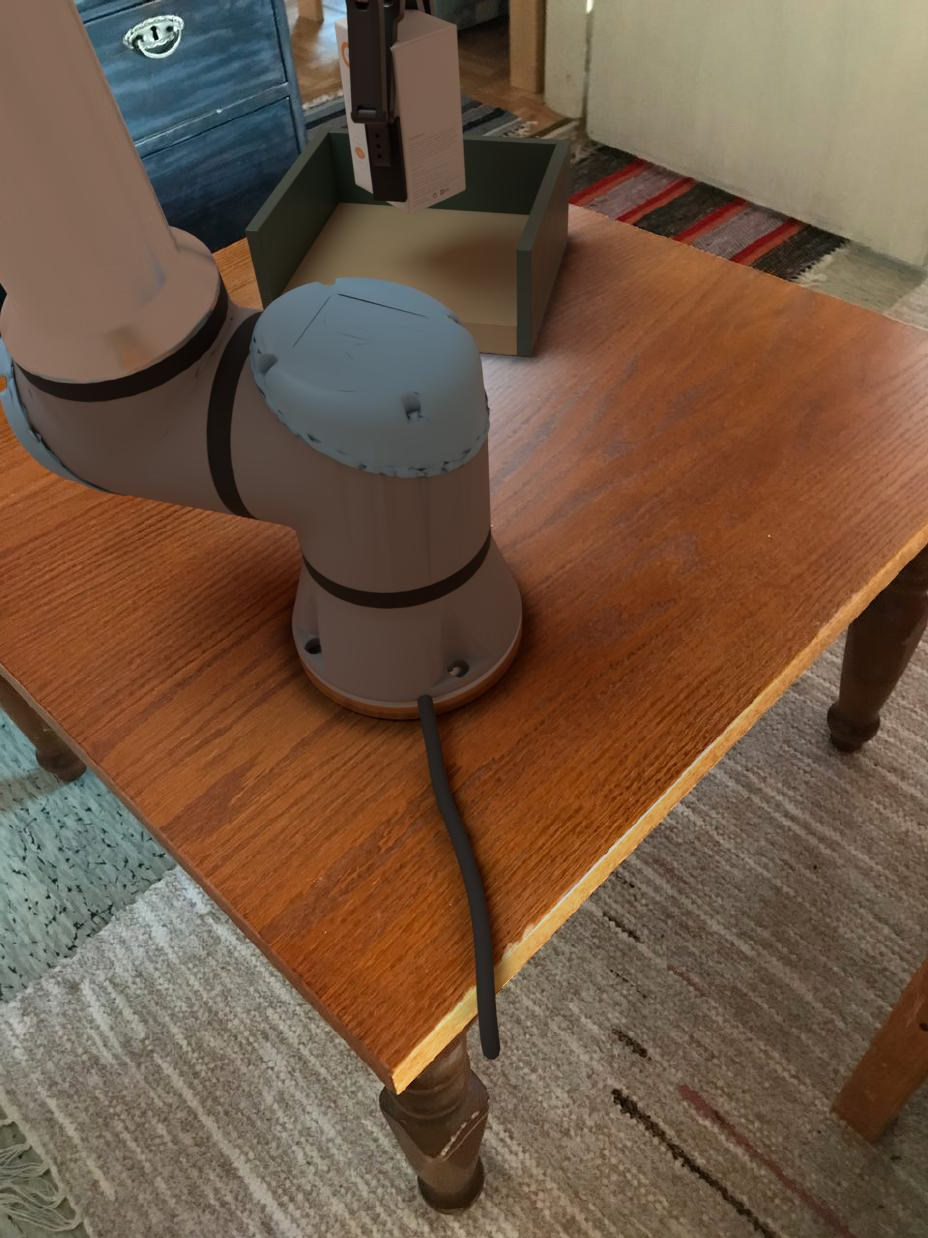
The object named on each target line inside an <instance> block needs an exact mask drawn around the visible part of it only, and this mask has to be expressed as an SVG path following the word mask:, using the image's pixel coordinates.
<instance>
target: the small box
mask: <svg viewBox="0 0 928 1238" xmlns="http://www.w3.org/2000/svg"><path fill="white" fill-rule="evenodd" d="M333 23H334V24H333V26H334V31H335V32H334V33H335V41H336V46H337V54H338V62H339V69H340V70H339V71H340V78H341V85H342V92H343V100H344V101H343V102H344V106H345V114H346V121H347V129H348V130H349V138H350V145H351V153H352V160H353V168H354V176H355V183H356V185H358V186H360V187H362V188H364V189H365V190H367V191H369V192H371V193H372V194H373V190H372V182H371V174H370V166H369V158H368V150H367V142H366V134H365V126H364V124H358V123H353V121H352V119H351V113H350V112H352V109H351V89H350V69H349V49H348V29H347V16H346V17H342V18H339V19H336V20H334V22H333ZM457 26H458V25H457V24H454V23H451V22H449V21H447V20H445V19H444V20H443V19H441V18H438V17H437V16H436V17H434V16H431V15H429V14H426V13H423V12H421V11H418V10H414V9H405V15H404V18H403V20H402V21H401V22H399V24H398V34H397V40H396V41H395V43H394V45H393V46H392V47H390V49H391V51H392V57H393V67H394V77H395V88H396V91H395V116H399V117H400V125H401V135H402V145H403V156H404V166H405V176H406V187H407V197H408V198H407V200H406V202H390V201H386V202H388V203H390V204H392V205H393V206H395V207H397V208H398V209H400V210H402V211H404V212H405V213H407V214H409V215H411V214H413V213H415V212H418V211H420V210H422V209H425V208H427V207H429V206H432V205H434V204H436V203H438V202H441V201H443V200H445V199H447V198H449V197H451V196H454V195H456V194H458V193H460V192H462V191H464V190H465V188H466V184H465V167H464V150H463V135H464V133H463V117H462V97H461V95H462V94H461V80H460V78H461V77H460V62H459V43H458V27H457Z"/></svg>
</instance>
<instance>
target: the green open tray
mask: <svg viewBox="0 0 928 1238" xmlns="http://www.w3.org/2000/svg"><path fill="white" fill-rule="evenodd" d="M571 147H572V140H571V139H557V138H556V139H555V138H537V137H533V138H532V137H518V136H499V135H479V134H463V150H464V167H465V184H466V188H465V190H464V191H462V192H460V193H458V194H456V195H454V196H451V197H449V198H447V199H445V200H443V201H441V202H438V203H436V204H434V205H432V206H429V207H427V208H425V209H422V210H420V211H418V212H415V213H413V214H411V215H409V214H407V213H405V212H404V211H402V210H400V209H398V208H397V207H395V206H393V205H392V204H390V203H388V202H386V201H374V198H373V194H372V193H371V192H369V191H367V190H365V189H364V188H362V187H360V186H358V185H356V183H355V176H354V168H353V160H352V153H351V145H350V138H349V130H348V128H346V127H345V128H344V127H343V128H342V127H322V126H321V127H319V128H318V130H317V131H316V133H315V134H314V135H313V136H312V138H311V139H310V141H309V142H308V144H307V145H305V148H304V149H303V150H302V152H301V153H300V154H299V156H298V157H297V159H296V160H295V161H294V162H293V164H292V165H291V166H290V168H289V169H288V171H287V172H286V173H285V175H284V176H283V177H282V179H281V180H280V182H279V183H278V184H277V185H276V187H275V188H274V190H273V191H272V193H270V195H269V197H268V198H267V199H266V201H265V202H264V203H263V205H262V206H261V207H260V209H259V210H258V211H257V213H256V214H255V215H254V217H253V218H252V220H251V221H250V222H249V224H248V225H247V226H246V228H245V230H244V231H245V236H246V237H245V238H246V240H247V241H246V242H247V245H248V248H249V254H250V258H251V262H252V266H253V271H254V275H255V281H256V284H257V289H258V293H259V296H260V300H261V305H262V310H265V309H266V308H267V307H268V306H269V305H270V304H271V303H272V302H273V301H274V300H276V299H277V298H279V297H281V296H282V295H283V294H285V293H286V292H289V291H291V290H293V289H295V288H297V287H300V286H303V285H306V284H309V283H313V282H317V281H318V282H319V283H321V284H323V285H329V286H332V285H334V282H335V280H336V278H343V277H360V278H374V279H380V280H386V281H391V282H395V283H399V284H403V285H406V286H409V287H412V288H414V289H417V290H419V291H421V292H424V293H426V294H428V295H430V296H431V297H433V298H435V299H437V300H438V301H440V302H441V303H443V304H444V305H445V306H447V307H448V308H449V309H450V310H451V311H452V312H454V313H455V314H456V315H457V316H458V317H459V318H460V320H461V322H462V324H463V327H464V328H465V329H467V330H468V331H469V332H470V333H471V334H472V336H473V338H474V340H475V342H476V344H477V347H478V350H479V353H484V354H486V353H487V354H495V355H496V354H497V355H507V356H518V357H527V358H531V357H532V354H533V351H534V348H535V345H536V342H537V337H538V334H539V332H540V329H541V327H542V326H541V325H542V323H543V320H544V316H545V313H546V310H547V307H548V304H549V301H550V298H551V295H552V292H553V289H554V285H555V282H556V279H557V275H558V272H559V270H560V266H561V263H562V260H563V256H564V254H565V250H566V248H567V245H568V241H569V214H570V213H569V209H570V208H569V206H570V178H571V176H570V175H571V149H572V148H571Z"/></svg>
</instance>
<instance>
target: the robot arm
mask: <svg viewBox="0 0 928 1238" xmlns="http://www.w3.org/2000/svg"><path fill="white" fill-rule="evenodd" d="M344 1H345V8H346V17H347V29H348V49H349V69H350V89H351V109H352V112H350V113H351V119H352V121H353V123H358V124H364V126H365V134H366V142H367V150H368V158H369V166H370V174H371V182H372V190H373V198H374V201H390V202H406V200H407V198H408V197H407V187H406V176H405V166H404V156H403V145H402V135H401V125H400V117H399V116H395V91H396V88H395V77H394V67H393V57H392V51H391V49H390V47H392V46H393V45H394V43H395V41H396V40H397V34H398V24H399V22H401V21H402V20H403V18H404V15H405V9H414V10H418V11H421V12H423V13H426V14H429V15H431V16H434V17H436V18H437V14H436V7H435V0H344ZM89 36H90V35H89V34H88V31H87V29H86V27H85V24H84V22H83V20H82V17H81V15H80V12H79V10H78V8H77V6H76V3H75V0H0V285H1V287H2V288H3V290H4V291H5V293H6V296H5V298H4V300H3V304H2V306H1V310H0V377H3V378H4V380H5V381H6V384H5V389H3V390H2V391H0V403H1V407H2V409H3V413H4V415H5V418H6V421H7V423H8V424H9V427H10V429H11V431H12V433H13V434H14V436H15V438H16V439H17V440H18V442H19V443H20V445H21V446H22V448H23V449H24V450H25V451H26V452H27V453H28V454H29V455H30V457H32V459H34V460H35V461H36V462H37V463H38V464H39V465H40V466H42V467H43V468H45V469H46V470H47V471H49V472H51V473H52V474H54V475H57V476H58V477H60V478H63V479H66V480H68V481H71V482H75V483H77V484H80V485H83V486H85V487H86V488H89V489H92V490H95V491H98V492H101V493H105V494H110V495H116V496H117V495H118V496H122V497H127V496H129V497H130V496H131V497H134V498H139V499H146V500H151V501H156V502H162V503H167V504H170V505H171V504H172V505H177V506H178V505H179V506H182V507H186V508H187V507H188V508H193V509H198V510H203V511H209V512H214V513H220V514H224V515H230V516H235V517H240V518H245V519H251V520H255V521H260V522H265V523H270V524H275V525H280V526H285V527H288V528H290V529H292V530H294V531H295V534H296V537H297V541H298V544H299V547H300V548H299V549H300V552H301V556H302V565H301V568H300V575H299V579H298V583H297V589H296V595H295V600H294V605H293V609H292V616H291V617H292V618H291V628H292V636H293V641H294V643H295V647H296V651H297V655H298V658H299V661H300V663H301V666H302V669H303V670H304V672H305V674H306V676H307V677H308V678H309V680H310V681H311V683H312V684H313V685H314V686H315V687H316V688H317V689H318V690H319V691H320V692H321V694H323V695H324V696H326V697H327V698H328V699H330V700H331V701H333V702H334V703H335V704H338V705H340V706H341V707H343V708H345V709H347V710H350V711H352V712H355V713H358V714H361V715H365V716H369V717H374V718H379V719H386V720H413V719H414V720H415V719H420V724H421V730H422V736H423V740H424V741H423V742H424V746H425V752H426V758H427V766H428V771H429V777H430V781H431V786H432V790H433V795H434V798H435V801H436V804H437V807H438V810H439V812H440V815H441V818H442V820H443V823H444V825H445V828H446V830H447V833H448V835H449V839H450V842H451V844H452V847H453V850H454V853H455V856H456V860H457V863H458V867H459V870H460V873H461V874H460V875H461V877H462V880H463V884H464V888H465V892H466V896H467V902H468V907H469V913H470V919H471V927H472V934H473V935H472V937H473V945H474V966H475V991H476V1008H477V1019H478V1020H477V1021H478V1030H479V1031H478V1032H479V1040H480V1047H481V1052H482V1056H483V1057H485V1058H486V1059H487V1060H488V1061H489V1060H490V1061H495V1060H496V1059H497V1058H498V1057H500V1053H501V1050H502V1049H501V1048H502V1047H501V1041H500V1033H499V1024H498V1023H499V1022H498V1015H497V1014H498V1011H497V999H496V998H497V997H496V982H495V981H496V980H495V963H494V947H493V946H494V945H493V936H492V927H491V920H490V914H489V909H488V904H487V898H486V893H485V889H484V884H483V880H482V877H481V873H480V871H479V867H478V865H477V864H478V863H477V861H476V857H475V854H474V850H473V848H472V845H471V842H470V840H469V836H468V833H467V831H466V828H465V826H464V824H463V823H464V822H463V821H462V817H461V816H460V814H459V811H458V809H457V806H456V803H455V800H454V798H453V794H452V792H451V791H452V790H451V788H450V785H449V780H448V776H447V770H446V766H445V759H444V754H443V753H444V752H443V747H442V741H441V737H440V730H439V726H438V720H437V716H438V715H441V714H444V713H448V712H450V711H453V710H456V709H458V708H460V707H463V706H465V705H467V704H469V703H471V702H472V701H475V699H477V698H479V697H480V696H482V695H483V694H485V693H486V692H487V691H488V690H490V689H491V688H493V686H494V685H495V684H496V683H497V682H498V681H499V680H501V678H502V677H504V675H505V673H507V671H508V669H509V668H510V666H511V664H512V663H513V662H514V660H515V657H516V655H517V653H518V650H519V647H520V644H521V640H522V634H523V605H522V604H523V603H522V596H521V591H520V589H519V585H518V583H517V581H516V579H515V577H514V575H513V573H512V571H511V569H510V567H509V566H508V563H507V562H506V559H505V557H504V555H503V554H502V551H501V550H500V548H499V546H498V544H497V541H496V540H495V538H494V536H493V534H492V524H491V523H492V522H491V521H492V520H491V519H492V516H491V487H490V485H491V484H490V459H489V458H490V456H489V455H490V454H489V433H490V428H491V421H490V415H491V408H490V407H489V396H488V394H487V390H486V387H485V381H484V372H483V363H482V357H481V352H479V350H478V347H477V344H476V342H475V340H474V338H473V336H472V334H471V333H470V332H469V331H468V330H467V329H465V328H464V327H463V324H462V322H461V320H460V318H459V317H458V316H457V315H456V314H455V313H454V312H452V311H451V310H450V309H449V308H448V307H447V306H445V305H444V304H443V303H441V302H440V301H438V300H437V299H435V298H433V297H431V296H430V295H428V294H426V293H424V292H421V291H419V290H417V289H414V288H412V287H409V286H406V285H403V284H399V283H395V282H391V281H386V280H380V279H374V278H360V277H343V278H336V280H335V282H334V285H332V286H329V285H323V284H321V283H319V282H318V281H317V282H313V283H309V284H306V285H303V286H300V287H297V288H295V289H293V290H291V291H289V292H286V293H285V294H283V295H282V296H281V297H279V298H277V299H276V300H274V301H273V302H272V303H271V304H270V305H269V306H268V307H267V308H266V309H265V310H263V309H257V308H252V307H251V308H250V307H246V306H245V307H243V306H239V305H238V304H236V303H235V302H233V300H232V298H231V296H230V294H229V292H228V289H227V286H226V284H225V282H224V279H223V276H222V274H221V271H220V269H219V267H218V264H217V261H216V259H215V257H214V255H213V253H212V252H211V250H210V249H209V248H208V246H206V244H205V243H204V242H203V241H201V240H200V239H199V238H197V237H196V236H195V235H193V234H191V233H189V232H188V231H185V230H183V229H180V228H178V227H175V226H172V225H170V224H169V222H168V219H167V218H166V215H165V213H164V210H163V208H162V206H161V203H160V201H159V199H158V196H157V194H156V191H155V189H154V187H153V185H152V183H151V180H150V178H149V175H148V173H147V170H146V168H145V165H144V163H143V161H142V159H141V157H140V154H139V152H138V150H137V147H136V144H135V142H134V140H133V138H132V135H131V132H130V131H129V128H128V126H127V123H126V121H125V119H124V116H123V113H122V111H121V109H120V106H119V104H118V102H117V99H116V97H115V95H114V92H113V90H112V88H111V85H110V83H109V81H108V79H107V78H108V77H106V73H105V72H104V69H103V67H102V65H101V62H100V60H99V58H98V55H97V53H96V50H95V47H94V45H93V43H92V40H91V39H90V37H89Z"/></svg>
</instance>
